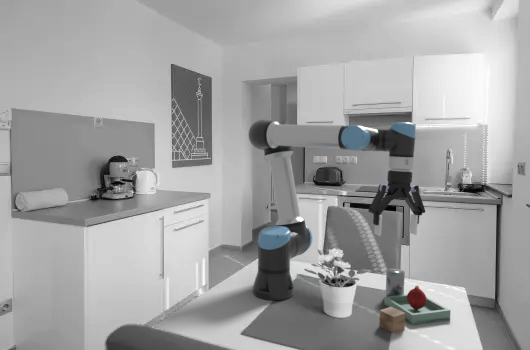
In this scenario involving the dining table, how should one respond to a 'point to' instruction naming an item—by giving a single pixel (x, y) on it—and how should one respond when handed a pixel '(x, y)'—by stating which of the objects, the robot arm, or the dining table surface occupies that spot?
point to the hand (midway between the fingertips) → (395, 234)
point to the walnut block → (392, 320)
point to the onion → (416, 298)
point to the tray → (423, 315)
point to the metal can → (394, 282)
